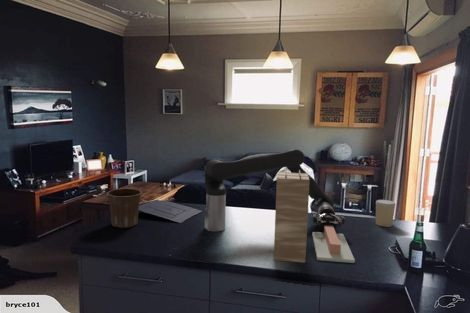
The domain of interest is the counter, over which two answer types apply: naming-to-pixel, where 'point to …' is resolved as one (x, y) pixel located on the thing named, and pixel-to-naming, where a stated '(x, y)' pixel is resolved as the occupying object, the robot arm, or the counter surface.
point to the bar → (332, 240)
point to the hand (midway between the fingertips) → (330, 223)
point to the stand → (291, 216)
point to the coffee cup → (384, 212)
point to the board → (323, 250)
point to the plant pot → (124, 207)
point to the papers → (169, 210)
